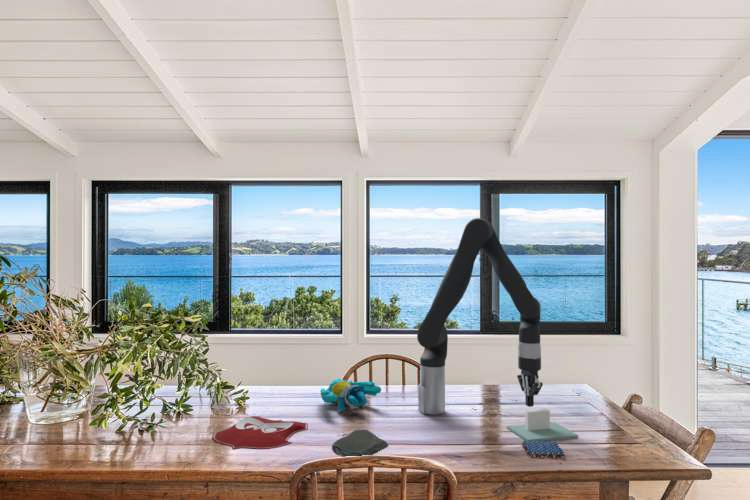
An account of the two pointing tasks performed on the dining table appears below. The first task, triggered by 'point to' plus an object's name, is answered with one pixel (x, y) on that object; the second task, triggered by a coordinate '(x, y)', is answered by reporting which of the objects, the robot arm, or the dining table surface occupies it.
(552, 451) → the woven mat
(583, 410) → the dining table surface
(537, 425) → the rectangular block
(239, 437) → the emblem
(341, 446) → the stone slab
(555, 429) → the mat
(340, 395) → the toy
